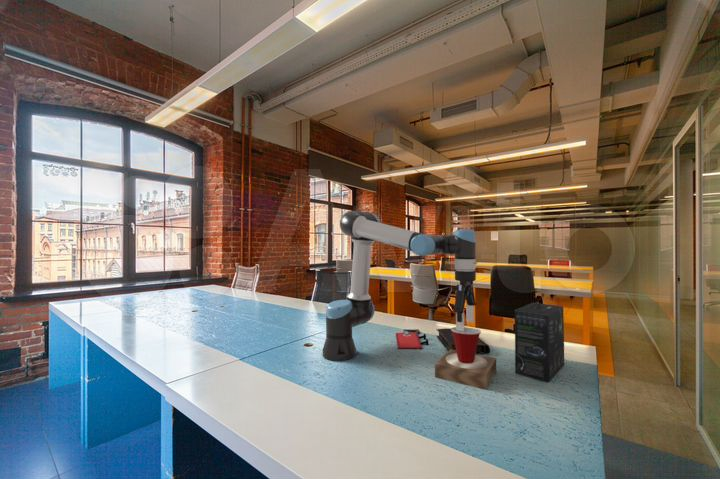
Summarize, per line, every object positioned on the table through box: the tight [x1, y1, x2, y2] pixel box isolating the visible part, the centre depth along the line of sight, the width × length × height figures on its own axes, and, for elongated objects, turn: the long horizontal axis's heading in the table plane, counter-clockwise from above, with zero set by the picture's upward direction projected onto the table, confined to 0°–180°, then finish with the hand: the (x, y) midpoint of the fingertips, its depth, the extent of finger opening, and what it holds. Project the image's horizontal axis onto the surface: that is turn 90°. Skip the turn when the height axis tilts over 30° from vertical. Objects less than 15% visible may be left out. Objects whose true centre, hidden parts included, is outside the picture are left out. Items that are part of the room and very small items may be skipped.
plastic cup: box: [450, 326, 482, 364], centre depth 117 cm, size 11×11×12 cm
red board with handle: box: [395, 328, 430, 351], centre depth 159 cm, size 30×3×15 cm
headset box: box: [514, 301, 565, 383], centre depth 121 cm, size 22×12×26 cm, turn 135°
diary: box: [436, 327, 491, 355], centre depth 150 cm, size 19×25×5 cm
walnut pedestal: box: [434, 349, 497, 390], centre depth 117 cm, size 18×18×5 cm
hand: (465, 326), depth 117 cm, fingers open, 13 cm apart
